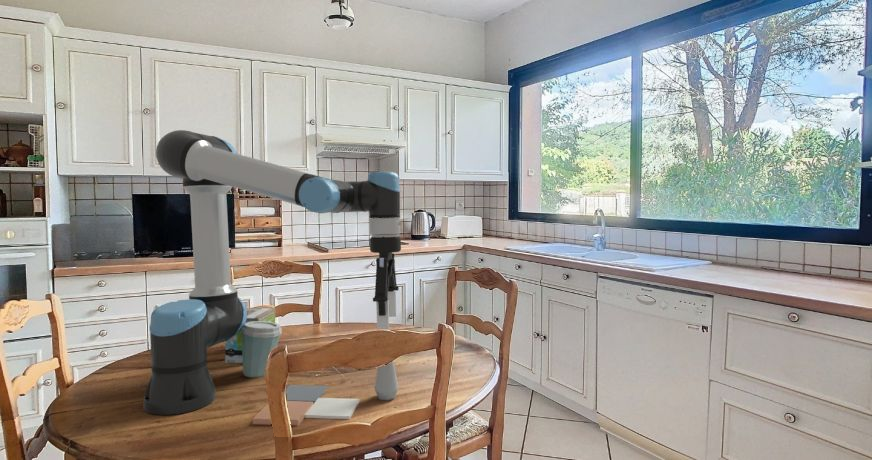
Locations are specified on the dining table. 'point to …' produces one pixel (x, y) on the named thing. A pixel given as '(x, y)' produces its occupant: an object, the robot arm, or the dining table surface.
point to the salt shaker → (386, 382)
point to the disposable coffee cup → (258, 346)
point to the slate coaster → (304, 392)
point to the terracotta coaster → (295, 411)
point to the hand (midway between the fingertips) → (387, 322)
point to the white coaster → (332, 408)
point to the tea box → (235, 343)
